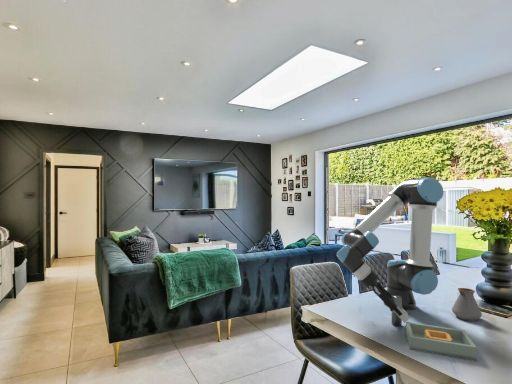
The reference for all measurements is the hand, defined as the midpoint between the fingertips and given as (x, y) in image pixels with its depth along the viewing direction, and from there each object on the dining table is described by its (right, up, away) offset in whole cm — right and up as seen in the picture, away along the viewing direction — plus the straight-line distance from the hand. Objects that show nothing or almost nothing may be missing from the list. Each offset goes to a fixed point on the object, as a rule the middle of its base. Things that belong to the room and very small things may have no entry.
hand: (406, 318), depth 131 cm
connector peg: (-4, -3, +1) cm, 5 cm away
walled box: (+3, -3, -18) cm, 18 cm away
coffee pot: (+30, -4, +7) cm, 31 cm away
